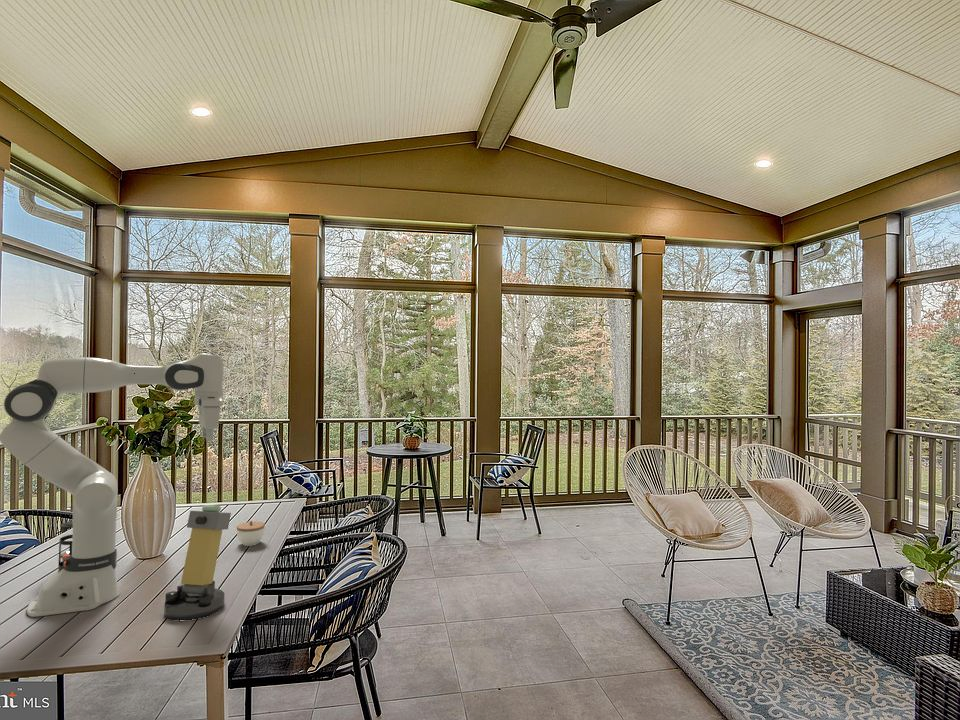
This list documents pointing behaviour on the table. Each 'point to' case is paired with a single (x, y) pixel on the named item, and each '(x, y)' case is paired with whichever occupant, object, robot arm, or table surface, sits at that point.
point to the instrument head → (203, 548)
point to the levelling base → (193, 603)
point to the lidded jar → (250, 532)
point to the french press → (65, 542)
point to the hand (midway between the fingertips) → (207, 439)
